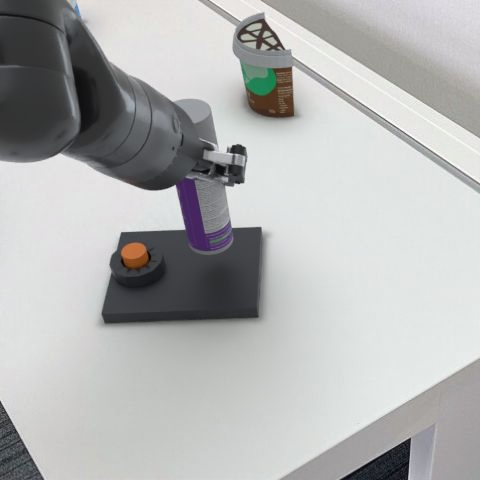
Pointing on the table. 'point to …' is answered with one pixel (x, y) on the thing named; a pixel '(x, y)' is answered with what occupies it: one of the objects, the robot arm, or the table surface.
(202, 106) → the container
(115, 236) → the table surface
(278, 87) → the food container
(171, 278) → the scale
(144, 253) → the button
